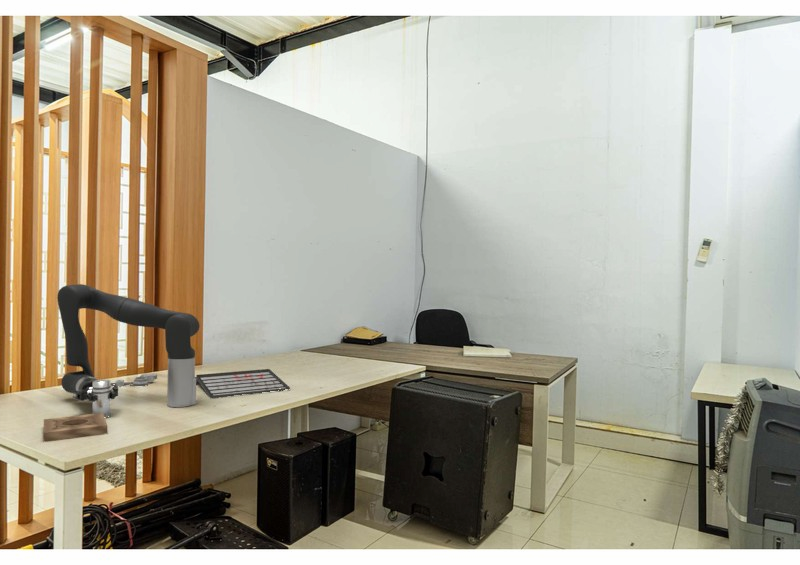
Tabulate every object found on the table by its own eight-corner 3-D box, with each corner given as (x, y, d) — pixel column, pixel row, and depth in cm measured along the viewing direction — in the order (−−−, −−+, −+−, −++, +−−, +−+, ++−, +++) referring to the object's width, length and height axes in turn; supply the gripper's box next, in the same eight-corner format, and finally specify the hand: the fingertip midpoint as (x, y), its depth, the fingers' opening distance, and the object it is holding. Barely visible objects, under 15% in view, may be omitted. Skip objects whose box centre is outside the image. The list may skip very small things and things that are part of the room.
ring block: (102, 420, 176) (102, 412, 176) (107, 433, 162) (107, 425, 162) (43, 427, 167) (43, 419, 167) (43, 441, 154) (43, 432, 154)
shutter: (288, 403, 226) (264, 380, 252) (290, 387, 226) (266, 365, 252) (210, 409, 209) (192, 383, 235) (211, 391, 208) (194, 367, 234)
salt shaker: (109, 413, 184) (109, 378, 183) (111, 417, 179) (111, 381, 179) (91, 415, 181) (91, 380, 180) (92, 419, 176) (93, 383, 176)
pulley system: (172, 382, 240) (150, 377, 247) (172, 372, 239) (150, 366, 246) (114, 397, 216) (91, 390, 223) (114, 385, 215) (91, 379, 222)
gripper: (66, 380, 185) (79, 388, 173) (112, 375, 195) (127, 383, 183) (66, 402, 185) (79, 412, 173) (112, 396, 195) (127, 405, 183)
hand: (103, 397), depth 178 cm, fingers closed on salt shaker, 5 cm apart
